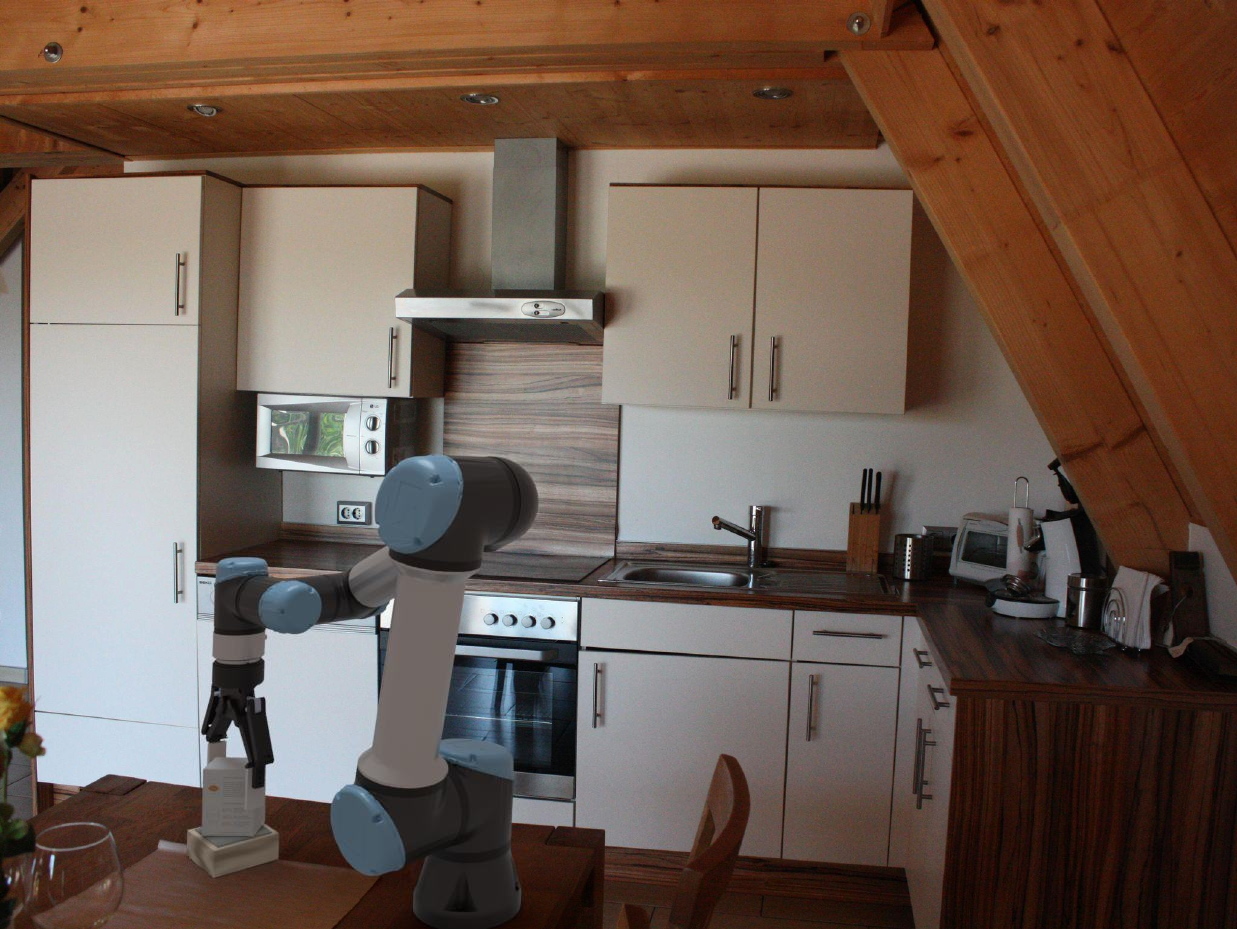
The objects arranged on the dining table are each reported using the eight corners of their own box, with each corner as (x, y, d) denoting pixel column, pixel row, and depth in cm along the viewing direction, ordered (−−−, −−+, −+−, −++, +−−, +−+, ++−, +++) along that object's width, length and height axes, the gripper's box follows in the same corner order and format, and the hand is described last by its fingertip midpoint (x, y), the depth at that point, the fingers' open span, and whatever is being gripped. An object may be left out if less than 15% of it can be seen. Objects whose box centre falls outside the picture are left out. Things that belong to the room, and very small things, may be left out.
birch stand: (278, 859, 149) (279, 831, 149) (213, 877, 142) (214, 849, 142) (249, 838, 156) (250, 812, 156) (186, 855, 149) (187, 828, 149)
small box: (265, 823, 152) (267, 757, 152) (253, 837, 147) (256, 769, 147) (213, 822, 152) (215, 755, 152) (200, 836, 146) (202, 768, 146)
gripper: (300, 670, 143) (296, 813, 143) (228, 641, 160) (223, 768, 160) (251, 678, 137) (246, 826, 138) (181, 647, 155) (177, 778, 155)
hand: (234, 795), depth 149 cm, fingers open, 13 cm apart
